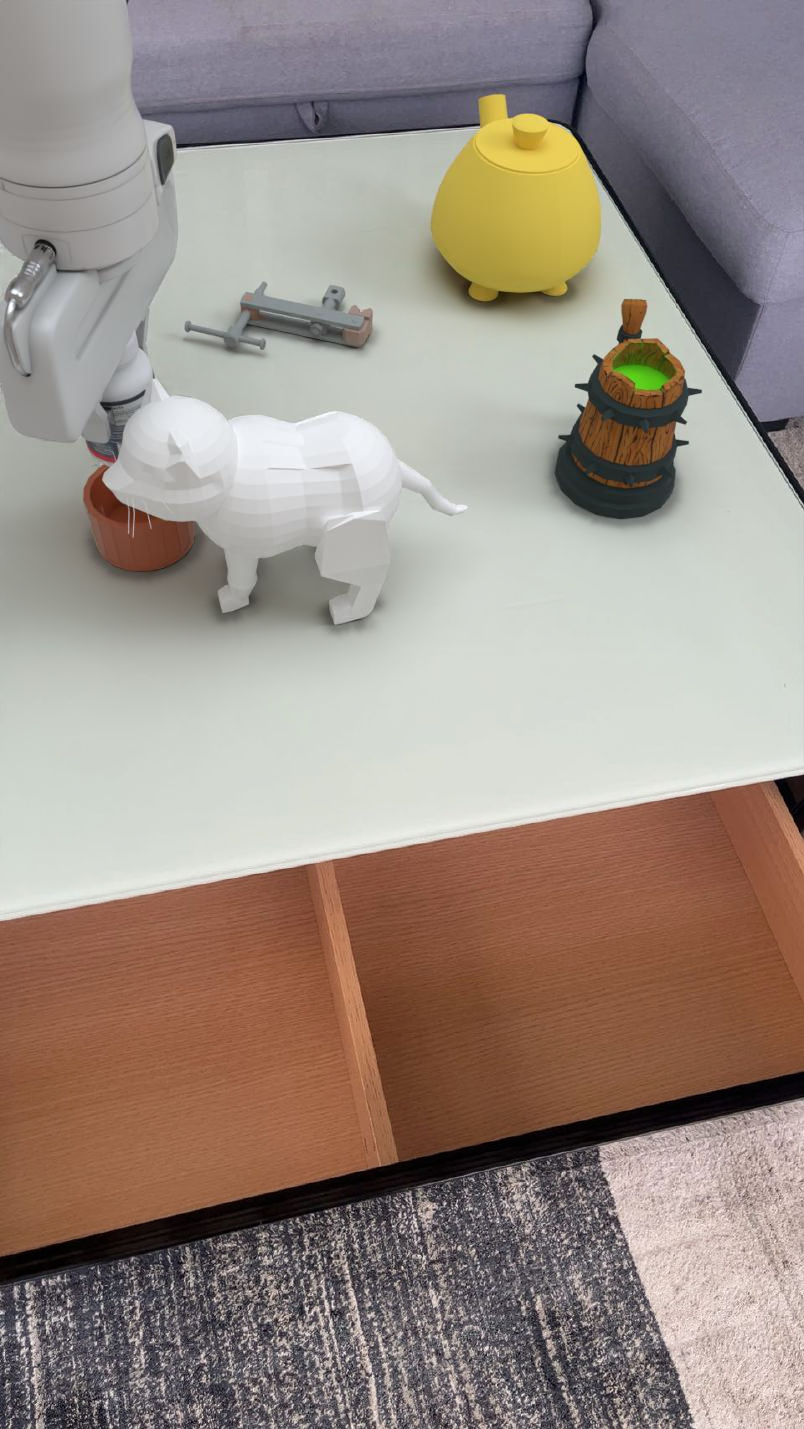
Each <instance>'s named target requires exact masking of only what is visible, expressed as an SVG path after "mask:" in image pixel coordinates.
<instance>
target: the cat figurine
mask: <svg viewBox="0 0 804 1429" xmlns="http://www.w3.org/2000/svg"><path fill="white" fill-rule="evenodd" d="M111 442H113V441H111ZM115 443H117V442H115ZM118 446H119V444H118ZM119 449H120V447H119ZM107 451H109V450H107ZM111 452H113V451H111ZM113 455H114V453H113ZM114 457H115V456H114ZM115 460H116V458H115ZM103 463H104V462H103ZM105 463H106V462H105ZM99 464H101V463H100V462H98V463H96V464H92V465H91V467H93V466H96V465H99ZM106 464H107V463H106ZM107 465H108V464H107ZM102 481H103V482H104V483H105V485H106V486H107V487H108V488H109V489H110V490H111V491H112V492H113V493H114V495H115V496H116V498H117V499H118V500H119V501H121V502H122V503H124V504H126V505H129V506H131V507H133V509H134V508H136V509H138V510H141V511H143V512H146V513H147V514H151V515H153V516H156V517H158V518H161V519H164V520H166V521H167V520H170V521H181V522H183V521H195V523H196V524H197V526H198V527H199V528H200V530H201V531H202V532H203V533H204V534H205V536H206V537H207V538H209V539H210V540H211V541H212V542H213V543H214V544H216V545H217V546H218V547H220V548H222V549H223V550H224V551H223V552H224V556H225V562H226V567H227V575H226V580H227V583H228V584H225V585H224V586H222V587H221V588H219V589H218V590H217V596H218V601H219V606H220V610H221V613H222V614H226V613H232V612H234V611H236V610H239V609H242V608H244V607H246V606H249V605H250V600H249V599H250V598H249V597H250V595H251V593H252V591H253V589H254V588H255V586H256V584H257V582H258V573H257V570H258V566H259V560H260V559H267V558H271V557H274V556H277V555H280V554H282V553H284V552H287V551H290V550H293V549H295V548H298V547H300V546H302V545H303V546H308V547H314V548H316V549H315V552H314V554H313V555H314V560H315V562H316V565H317V568H318V571H319V575H320V577H324V578H326V579H331V580H335V581H337V582H342V583H345V584H348V585H349V584H350V586H349V588H348V591H347V593H346V594H344V593H343V594H338V595H336V596H334V597H333V598H330V599H329V601H328V602H329V603H328V604H329V606H328V607H329V608H328V609H329V613H330V616H331V619H332V622H333V625H341V624H346V623H348V622H353V621H356V620H359V619H363V618H366V617H367V616H369V615H370V614H371V613H373V610H374V607H375V605H376V603H377V600H378V597H379V595H380V593H381V591H382V588H383V586H384V584H385V581H386V579H387V575H388V572H389V569H390V566H391V555H390V548H389V547H390V546H389V539H388V538H389V537H388V530H387V528H388V526H389V525H390V523H391V522H392V519H393V518H394V517H395V514H396V513H397V510H398V507H399V504H400V500H401V496H402V491H403V490H402V489H403V488H404V489H406V490H409V491H412V492H414V493H418V494H420V495H421V496H422V497H423V499H424V500H425V502H426V503H427V504H428V506H429V507H430V509H432V510H433V511H436V512H438V513H441V514H444V515H447V516H448V517H454V516H457V515H460V514H463V513H465V512H466V511H467V510H468V508H469V506H467V505H465V504H455V503H453V502H451V501H450V500H449V499H446V498H445V497H443V496H441V494H440V493H439V491H438V490H437V488H436V487H435V486H434V485H433V483H432V481H431V480H430V479H428V478H427V477H425V476H424V475H422V474H421V473H419V472H418V471H416V470H415V469H413V468H412V467H410V466H409V465H408V464H406V463H405V462H403V461H402V460H400V459H398V456H397V453H396V451H395V449H394V448H393V446H392V445H391V442H390V441H389V439H388V438H387V437H386V436H385V435H384V433H383V432H382V431H381V430H379V429H378V428H377V427H376V426H375V425H373V424H372V423H371V422H370V421H369V420H366V419H364V418H363V417H361V416H359V415H355V414H352V413H349V412H344V411H335V410H334V411H333V410H331V411H328V412H325V413H322V414H319V415H316V416H312V417H308V418H306V419H302V420H299V421H297V422H294V423H293V422H289V421H285V420H281V419H278V418H274V417H271V416H268V415H264V414H245V415H244V414H243V415H239V416H234V417H232V418H229V419H227V418H226V417H225V416H224V415H223V414H222V413H221V412H220V411H219V410H218V409H216V408H215V407H213V406H212V405H210V404H208V403H207V402H205V401H203V400H201V399H198V398H195V397H190V396H182V395H169V393H168V392H167V391H166V389H165V388H164V387H163V385H162V384H161V383H160V381H159V380H158V379H157V377H155V378H154V379H152V380H151V381H149V382H148V384H147V388H146V391H145V394H144V397H143V400H142V404H141V407H140V409H138V410H137V411H136V412H135V413H134V414H133V415H132V416H131V417H130V418H129V420H128V421H127V423H126V425H125V428H124V432H123V439H122V446H121V449H120V451H119V455H118V459H117V461H116V462H115V463H114V464H113V465H112V466H110V468H109V469H108V470H107V471H106V472H105V473H104V475H103V479H102ZM129 506H128V509H129ZM134 516H135V513H134ZM148 518H149V516H148ZM149 523H150V520H149ZM150 527H151V524H150ZM128 534H129V523H128ZM133 535H134V524H133Z"/></svg>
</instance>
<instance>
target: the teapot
mask: <svg viewBox="0 0 804 1429" xmlns="http://www.w3.org/2000/svg"><path fill="white" fill-rule="evenodd" d="M477 102H478V113H479V127H480V128H479V129H478V131H477V132H476V133H474V135H472V137H471V138H470V139H469V140H468V141H467V143H466V144H465V145H464V147H462V149H461V150H460V152H459V153H458V154H457V156H456V157H455V159H453V161H452V162H451V164H450V166H449V167H448V169H447V170H446V172H445V174H444V176H443V178H442V180H441V182H440V185H439V187H438V190H437V193H436V195H435V199H434V202H433V206H432V210H431V214H430V215H431V217H430V232H431V236H432V239H433V242H434V244H435V247H436V248H437V249H438V251H439V253H440V254H441V256H442V257H443V258H444V259H445V260H446V262H447V263H448V264H449V265H450V266H451V268H452V269H454V270H455V272H456V273H458V275H460V276H461V277H463V278H464V279H466V280H467V281H470V282H471V284H470V286H469V288H468V294H469V296H470V297H471V298H472V299H474V300H475V301H480V302H490V301H493V300H495V299H496V298H497V297H498V296H499V291H500V292H507V293H518V294H519V293H520V294H521V293H534V292H541V293H543V294H544V295H547V296H551V297H559V296H562V295H564V294H566V293H567V291H568V286H567V283H566V281H568V280H570V279H572V278H573V277H575V276H576V275H578V274H579V273H580V272H581V271H582V270H583V269H584V268H586V267H587V266H588V265H589V263H590V262H591V261H592V260H593V259H594V257H595V255H596V254H597V251H598V248H599V245H600V240H601V233H602V207H601V202H600V196H599V190H598V187H597V184H596V180H595V178H594V175H593V172H592V170H591V167H590V165H589V162H588V160H587V157H586V154H585V153H584V151H583V149H582V147H581V145H580V143H579V142H578V140H577V139H576V138H575V136H574V135H573V134H572V133H570V132H569V131H568V130H566V129H565V128H563V127H561V126H559V125H557V124H555V123H552V122H549V121H548V119H546V118H545V117H543V116H542V115H539V114H535V113H521V114H517V115H514V117H508V107H507V100H506V95H505V94H502V93H497V94H496V93H495V94H489V95H484V96H482V97H480V98H479V99H478V100H477Z"/></svg>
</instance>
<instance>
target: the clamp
mask: <svg viewBox="0 0 804 1429" xmlns="http://www.w3.org/2000/svg"><path fill="white" fill-rule="evenodd" d="M267 287H268V283H267V282H266V281H261V283H260V285H259V287H257V288H256V289H255V290H254V292H248V291H246V292H245V293H243V295H242V296H241V298H240V300H239V305H240V316H239V317H238V318H237V320H236V322H235V324H234V325H231V326H229V328H228V329H227V331H224V330H218V329H214V328H210V327H205V326H201V325H197V324H193V323H192V322H191V321H190V320H186V321H185V323H184V332H185V333H187V334H188V333H190V331H191V332H195V333H200V334H204V335H209V336H212V337H218V338H222V339H223V342H224V344H225V345H226V346H228V347H229V348H236V347H237V346H238V345H239V343H243V344H247V345H252V346H255V347H259V350H261V351H263V350H265V348H266V346H267V340H266V338H264V337H262V338H261V339H258V338H253V337H249V336H244V333H243V330H244V329H245V327H246V325H252V326H255V327H260V328H265V329H270V330H273V331H279V332H284V333H287V334H293V335H298V336H303V337H306V338H307V337H308V338H312V339H315V340H316V339H317V340H321V341H326V342H331V343H335V344H340V345H345V346H349V347H354V348H360V347H361V346H362V345H364V344H365V343H366V340H367V339H368V337H370V335H371V333H372V332H373V320H374V318H373V317H374V315H373V314H374V311H373V309H372V308H371V307H369V308H366V309H362V311H361V309H360V308H359V307H358V306H357V305H356V304H353V305H351V306H350V308H349V309H348V312H344V311H339V309H340V306H341V305H342V303H343V301H344V299H345V297H346V290H345V288H344V287H342V286H341V285H340V286H339V285H334V284H329V286H328V287H327V289H326V291H325V293H324V295H323V297H322V299H321V302H322V303H321V304H322V306H321V307H320V306H316V305H311V304H306V303H301V302H297V301H293V300H287V299H283V298H277V297H272V296H267V295H264V294H265V291H266V288H267Z"/></svg>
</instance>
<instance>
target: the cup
mask: <svg viewBox="0 0 804 1429" xmlns="http://www.w3.org/2000/svg"><path fill="white" fill-rule="evenodd" d="M109 468H110V467H109V466H106V465H104V464H102V465H101V466H99V467H98V468H97V469H96V470H95V471H94V472H93V473H91V474H90V476H89V477H88V478H87V480H86V482H85V484H84V486H83V489H82V490H83V492H82V495H83V496H82V502H83V506H84V509H85V512H86V516H87V520H88V523H89V527H90V531H91V535H92V538H93V541H94V543H95V546H96V549H97V551H98V553H99V555H101V557H102V558H103V560H105V561H106V562H108V563H109V564H110V565H112V566H114V567H117V568H119V569H122V570H125V571H129V572H152V571H158V570H160V569H164V568H166V567H167V568H168V567H169V566H172V565H173V564H175V563H176V562H178V561H180V560H181V559H182V558H183V557H185V555H186V554H187V553H188V552H189V551H190V550H191V548H192V546H193V544H194V543H195V538H196V521H183V522H181V521H170V520H167V521H166V520H164V519H161V518H158V517H156V516H153V515H151V514H147V513H146V512H143V511H141V510H138V509H136V508H134V509H133V507H131V506H129V505H126V504H124V503H122V502H121V501H119V500H118V499H117V498H116V496H115V495H114V493H113V492H112V491H111V490H110V489H109V488H108V487H107V486H106V485H105V483H104V482H103V481H102V479H103V475H104V473H105V472H106V471H107V470H108V469H109ZM128 506H129V509H128ZM134 513H135V516H134ZM148 516H149V518H148ZM149 520H150V523H149ZM128 523H129V534H128ZM133 524H134V535H133ZM150 524H151V527H150Z"/></svg>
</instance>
